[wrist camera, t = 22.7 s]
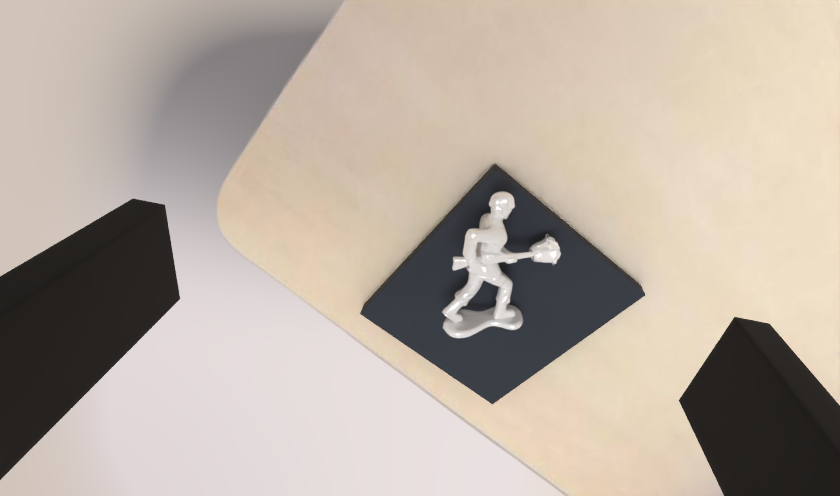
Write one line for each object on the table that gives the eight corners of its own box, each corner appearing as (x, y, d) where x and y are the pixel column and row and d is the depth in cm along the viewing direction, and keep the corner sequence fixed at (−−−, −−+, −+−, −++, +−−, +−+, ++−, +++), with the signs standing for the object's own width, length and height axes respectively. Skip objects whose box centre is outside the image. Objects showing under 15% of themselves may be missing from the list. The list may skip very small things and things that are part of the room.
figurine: (434, 313, 40) (429, 195, 33) (524, 287, 42) (538, 171, 35) (455, 352, 36) (456, 227, 29) (553, 320, 38) (575, 198, 31)
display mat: (363, 304, 44) (359, 314, 43) (495, 163, 35) (495, 169, 34) (492, 393, 47) (492, 404, 46) (640, 285, 39) (645, 295, 37)
